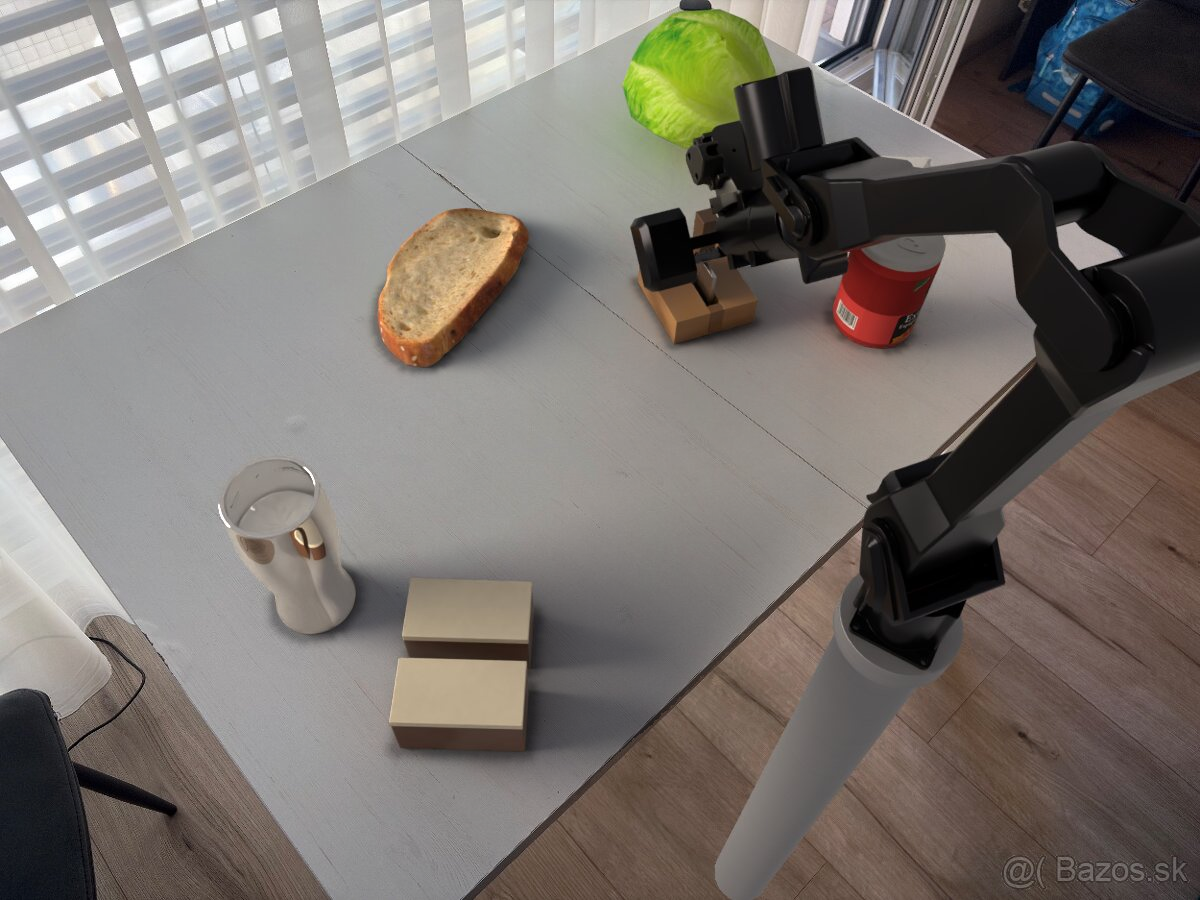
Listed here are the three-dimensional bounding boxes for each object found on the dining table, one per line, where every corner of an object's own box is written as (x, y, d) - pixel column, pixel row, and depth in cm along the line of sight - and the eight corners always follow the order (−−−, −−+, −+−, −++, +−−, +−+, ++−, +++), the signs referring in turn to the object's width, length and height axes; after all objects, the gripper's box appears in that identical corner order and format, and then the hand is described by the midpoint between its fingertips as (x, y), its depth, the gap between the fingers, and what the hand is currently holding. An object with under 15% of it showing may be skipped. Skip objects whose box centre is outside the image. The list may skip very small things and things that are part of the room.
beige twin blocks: (533, 612, 76) (532, 581, 72) (525, 751, 70) (522, 726, 65) (419, 609, 76) (410, 577, 72) (399, 748, 69) (389, 722, 65)
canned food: (903, 360, 93) (939, 276, 84) (822, 336, 94) (848, 251, 85) (917, 306, 97) (953, 221, 88) (839, 285, 98) (866, 198, 89)
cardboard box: (753, 322, 95) (758, 300, 93) (673, 344, 93) (676, 322, 91) (714, 262, 100) (717, 239, 97) (637, 282, 98) (639, 260, 95)
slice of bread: (398, 377, 90) (392, 350, 87) (345, 253, 99) (338, 224, 96) (575, 322, 94) (576, 295, 91) (509, 209, 104) (507, 180, 101)
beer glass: (320, 656, 73) (271, 558, 61) (252, 611, 75) (191, 507, 63) (380, 587, 77) (344, 481, 65) (313, 546, 79) (267, 436, 67)
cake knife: (714, 320, 95) (730, 234, 86) (700, 324, 95) (714, 238, 86) (689, 279, 98) (701, 193, 89) (675, 283, 98) (686, 196, 89)
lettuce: (720, 208, 105) (738, 97, 94) (591, 123, 113) (594, 13, 102) (808, 148, 111) (835, 39, 100) (680, 72, 120) (692, -37, 109)
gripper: (867, 92, 75) (776, 129, 90) (647, 141, 71) (589, 172, 86) (892, 234, 78) (799, 248, 92) (681, 290, 73) (619, 295, 88)
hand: (704, 238), depth 90 cm, fingers open, 9 cm apart
